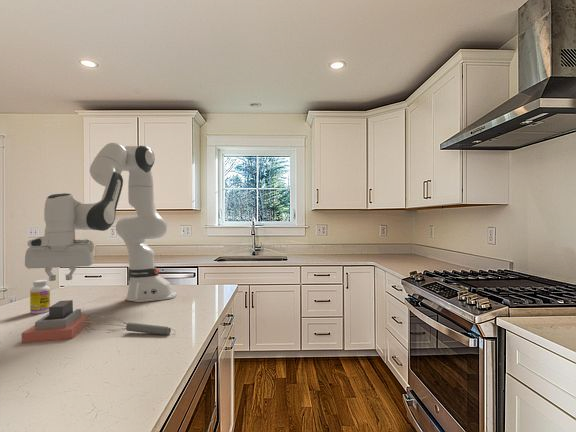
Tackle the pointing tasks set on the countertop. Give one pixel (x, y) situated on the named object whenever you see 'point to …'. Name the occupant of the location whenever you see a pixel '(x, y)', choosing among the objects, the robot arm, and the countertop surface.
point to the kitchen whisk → (136, 327)
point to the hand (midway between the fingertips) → (60, 280)
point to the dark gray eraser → (60, 309)
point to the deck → (55, 328)
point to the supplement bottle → (39, 297)
